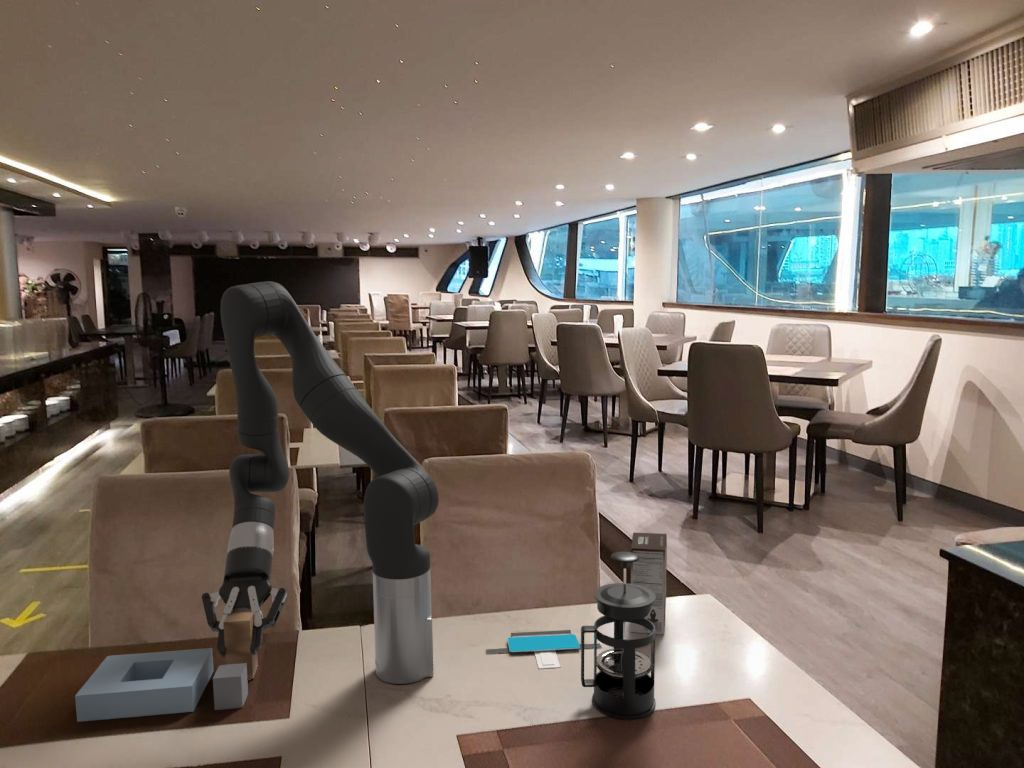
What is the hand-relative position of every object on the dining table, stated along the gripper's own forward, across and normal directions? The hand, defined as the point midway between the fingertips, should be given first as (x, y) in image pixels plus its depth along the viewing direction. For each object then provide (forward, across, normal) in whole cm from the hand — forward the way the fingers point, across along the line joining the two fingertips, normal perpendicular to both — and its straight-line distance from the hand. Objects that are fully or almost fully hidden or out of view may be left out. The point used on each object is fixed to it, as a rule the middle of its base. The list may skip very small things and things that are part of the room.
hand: (238, 653), depth 117 cm
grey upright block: (+8, 0, -1) cm, 8 cm away
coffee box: (-3, +71, +10) cm, 72 cm away
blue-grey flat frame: (+5, -13, +2) cm, 14 cm away
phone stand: (+3, +50, +5) cm, 50 cm away
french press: (+15, +58, -8) cm, 60 cm away
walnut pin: (+2, 0, +5) cm, 5 cm away
